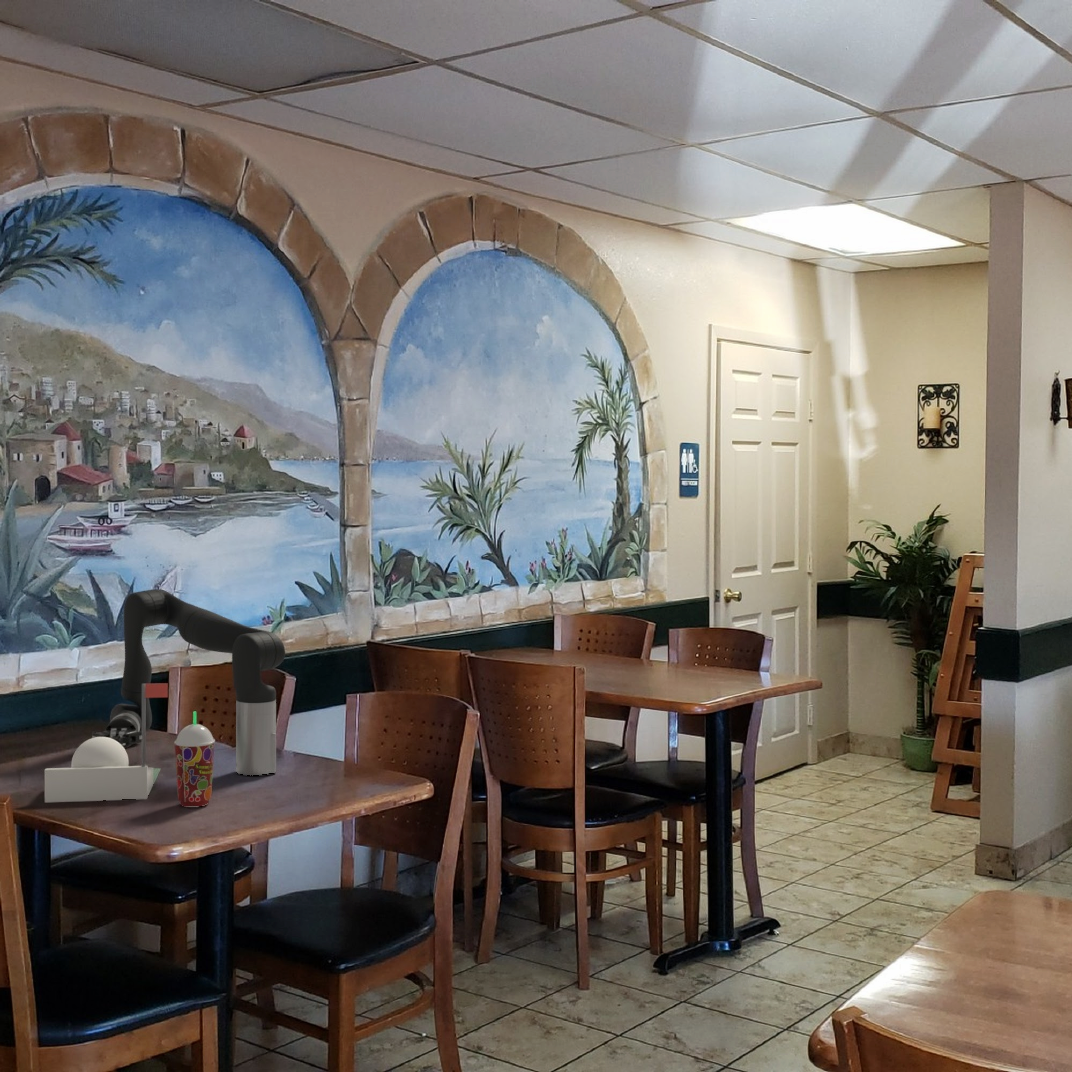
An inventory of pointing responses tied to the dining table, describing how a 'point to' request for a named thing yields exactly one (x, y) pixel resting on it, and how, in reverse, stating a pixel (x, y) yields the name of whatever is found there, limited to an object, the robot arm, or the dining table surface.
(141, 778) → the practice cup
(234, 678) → the robot arm
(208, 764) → the smoothie
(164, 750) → the dining table surface
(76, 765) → the ball
